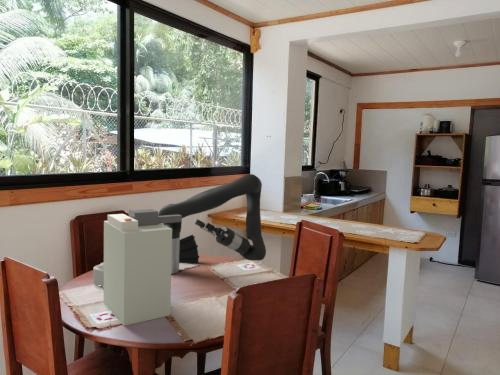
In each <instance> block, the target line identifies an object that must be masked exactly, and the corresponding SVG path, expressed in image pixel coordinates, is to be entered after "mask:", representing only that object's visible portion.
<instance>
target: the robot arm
mask: <svg viewBox="0 0 500 375" xmlns="http://www.w3.org/2000/svg"><path fill="white" fill-rule="evenodd" d="M262 183H263V182H262V181H261V179H260V177H258V176H257V175H255V174H250V173H248V174H245V175H242V176H241V177H239V178H237V179H235V180H233V181H231V182H228V183H224V184H222V185H219V186H215V187H212V188H210V189H207V190H204V191H202V192H199V193H196V194H195V195H193V196H191V197H189V198H187V199H185V200H183V201H180V202H177V203H169V204H167V205H163V207H161V208H160V209H159V211H158V216H164V215H182V219H184V218H186V217H189V216H193V215H196V214H201V213H204V212H208V211H211V210H213V209H215V208H216V209H217V208H218V207H221V206H222V205H224V204H226V203H227V202H229V201H230V200H232V199H235V198H238V197H240V196H244V195H245V196H246V203H247V204H246V214H245V215H246V216H245V231H246V232H245V233H246V234H245V235H246V236H245V237H246V238H245V237H243V236H242V235H240V234H239V233H237V232H235V231H234V230H232V229H231V228H229V227H227V226H222V227H219V226H216V225H213V224H211V223H209V222H204V221H202V220H200V219H198V218H197V219H196V220H195V222H194V224H195V225H196V226H198V227H199V228H200V229H202V230H204V231H205V232H206V233H208V234H211V235H212V236H214V237H215V240H216V242H217V243H218V244H220V245H222V246H224V247H226V248H227V249H229V250H233V251H234V252H236V253H238V254H239V255H240V256H242V257H243V258H244V259H246V260H248V261H253V262H254V261H263V260H264V259H265V258H266V255H267V247H266V245H265V242H264V239H263V235H262V221H261V218H262V217H261V197H262V186H263V184H262ZM182 223H183V221H182V222H173V223H162V225H165V226H167V227H169V228H171V229H172V259H171V275H172V274H177V273H179V271H180V263H179V251H180V238H181V231H182ZM249 240H250V241H251V242H252V244H251V243H250V241H249Z"/></svg>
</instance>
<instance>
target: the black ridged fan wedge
mask: <svg viewBox="0 0 500 375" xmlns="http://www.w3.org/2000/svg"><path fill="white" fill-rule="evenodd" d="M195 238H196V236H195V235H193V234H190V235H188V236H185V237H182V238H181V239H180V251H179V264H181V263H183V264H193V265H194V264H195V265H197V264H198V263H199V259H200V255H199V250H198V244H197V242H196V239H195Z"/></svg>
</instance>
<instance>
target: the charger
mask: <svg viewBox="0 0 500 375" xmlns="http://www.w3.org/2000/svg"><path fill="white" fill-rule="evenodd" d="M158 215H159V211H158V210H157V209H156V210H155V209H153V208H152V209H151V208H148V209H146V208H145V209H133V210H128V216H129V217H131V218H133V219H135V220H137V221H138V226H148V225H158V224H163V223H173V222H182V223H183V220H182V219H183V218H182V215H164V216H158Z"/></svg>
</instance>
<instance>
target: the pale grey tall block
mask: <svg viewBox="0 0 500 375" xmlns="http://www.w3.org/2000/svg"><path fill="white" fill-rule="evenodd" d="M171 259H172V229H171V228H169V227H167V226H165V225H163V223H161V224H158V225H148V226H138V221H137V220H135V219H133V218H131V217H129V215H127V214H124V213H117V214H116V213H114V214H113V213H112V214H107V220H104V221H103V262H104V287H103V303H104V305H105V306H106V305H107V306H108V307H107V306H106V307H107V308H108V309H109V310H110V311H112V312H111V313H112V314H113V315H114V317H116V319H117V320H118V321H119V322H120V323H121V324H122V326H123V327H125V326H130V325H133V324H138V323H142V322H147V321H151V320H155V319H159V318H164V317H168V316H171V300H172V299H171V297H172V296H171V295H172V290H171V289H172V274H171Z"/></svg>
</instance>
